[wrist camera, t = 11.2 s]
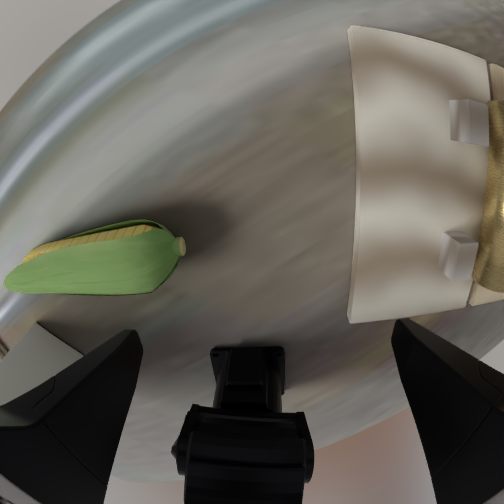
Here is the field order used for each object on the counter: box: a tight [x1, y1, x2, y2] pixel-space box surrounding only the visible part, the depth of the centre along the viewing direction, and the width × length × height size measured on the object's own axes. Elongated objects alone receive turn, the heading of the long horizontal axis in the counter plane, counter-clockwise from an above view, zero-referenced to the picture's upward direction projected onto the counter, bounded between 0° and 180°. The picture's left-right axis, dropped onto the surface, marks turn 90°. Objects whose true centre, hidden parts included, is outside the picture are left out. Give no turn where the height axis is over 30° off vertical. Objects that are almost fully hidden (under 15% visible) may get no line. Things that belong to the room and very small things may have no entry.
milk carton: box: [0, 323, 83, 406], centre depth 18 cm, size 7×7×19 cm
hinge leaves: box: [347, 25, 504, 324], centre depth 16 cm, size 22×25×4 cm
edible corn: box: [3, 219, 186, 296], centre depth 20 cm, size 5×20×5 cm
